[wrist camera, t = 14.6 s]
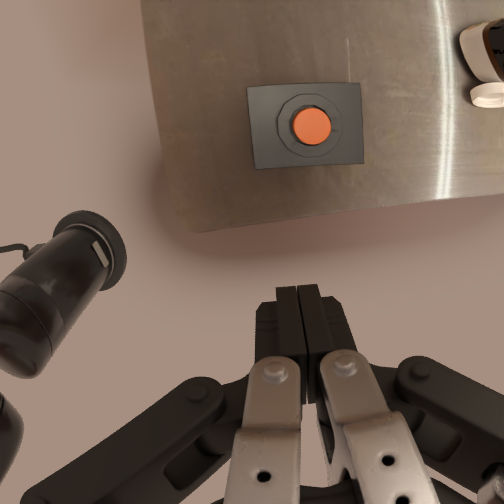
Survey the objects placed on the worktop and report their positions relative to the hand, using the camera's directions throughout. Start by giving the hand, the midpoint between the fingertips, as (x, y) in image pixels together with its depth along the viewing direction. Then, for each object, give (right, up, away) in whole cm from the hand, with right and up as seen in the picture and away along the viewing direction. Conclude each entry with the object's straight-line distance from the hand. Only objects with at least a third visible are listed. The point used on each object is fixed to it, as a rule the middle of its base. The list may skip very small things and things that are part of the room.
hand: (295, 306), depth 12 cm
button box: (+4, +16, +22) cm, 27 cm away
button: (+4, +15, +18) cm, 24 cm away
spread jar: (+28, +26, +16) cm, 42 cm away
